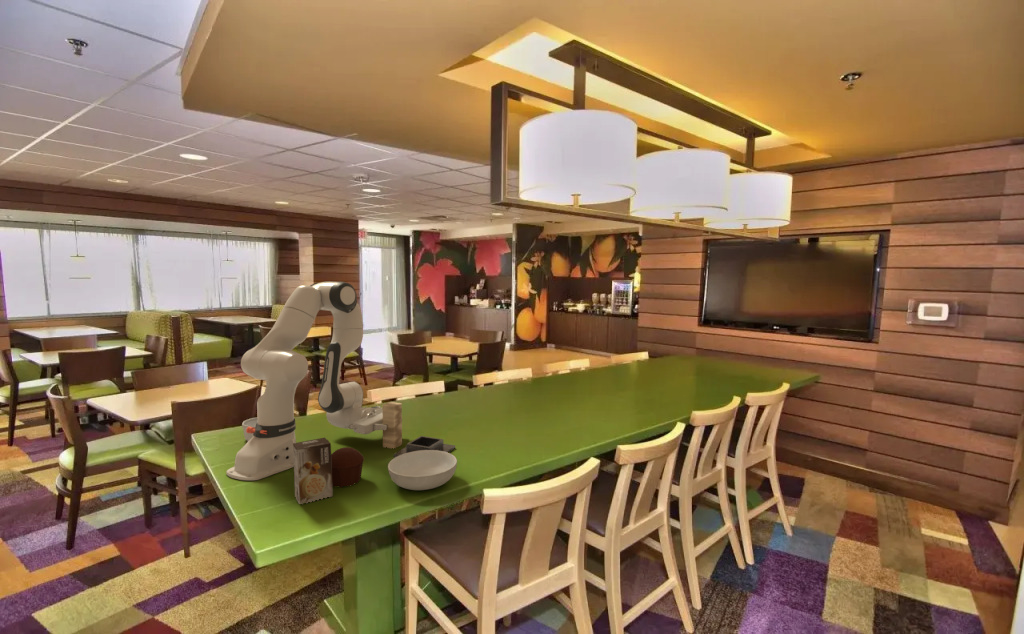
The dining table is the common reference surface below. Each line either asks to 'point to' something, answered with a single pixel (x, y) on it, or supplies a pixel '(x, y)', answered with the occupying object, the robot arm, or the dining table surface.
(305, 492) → the printed cardboard box
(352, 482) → the muffin
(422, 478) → the serving bowl
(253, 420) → the ramekin
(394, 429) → the pillar
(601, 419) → the dining table surface
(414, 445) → the collar
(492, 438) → the dining table surface
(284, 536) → the dining table surface
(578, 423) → the dining table surface
